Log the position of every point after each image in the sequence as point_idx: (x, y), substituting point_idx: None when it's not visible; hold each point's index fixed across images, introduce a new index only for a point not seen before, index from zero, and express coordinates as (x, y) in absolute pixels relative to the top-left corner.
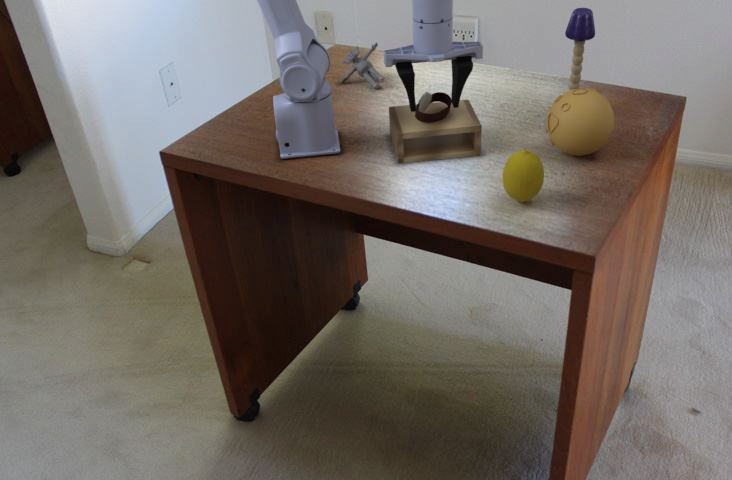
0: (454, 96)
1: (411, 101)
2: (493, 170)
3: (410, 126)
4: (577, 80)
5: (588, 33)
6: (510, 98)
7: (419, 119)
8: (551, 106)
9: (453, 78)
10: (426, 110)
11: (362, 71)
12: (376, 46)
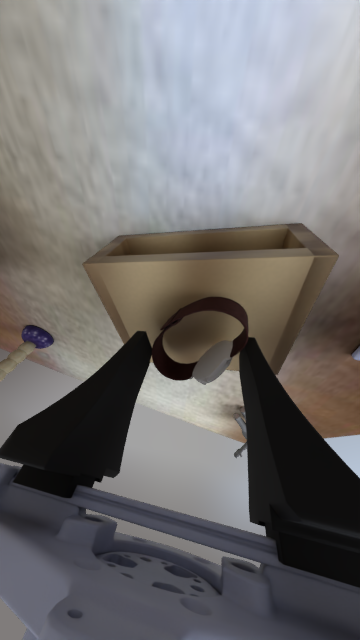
0: (135, 354)
1: (262, 361)
2: (76, 147)
3: (268, 292)
4: (2, 361)
5: None
6: None
7: (240, 306)
8: None
9: (126, 405)
10: (207, 348)
11: None
12: (235, 452)
